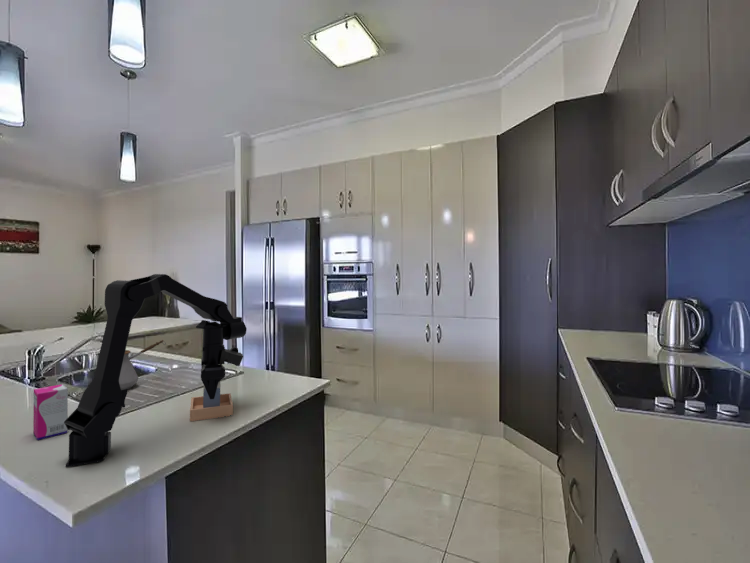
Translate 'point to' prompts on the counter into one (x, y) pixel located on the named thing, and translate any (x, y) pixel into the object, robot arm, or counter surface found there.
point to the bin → (211, 408)
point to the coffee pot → (131, 368)
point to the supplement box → (50, 411)
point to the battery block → (211, 402)
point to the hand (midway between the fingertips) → (211, 394)
